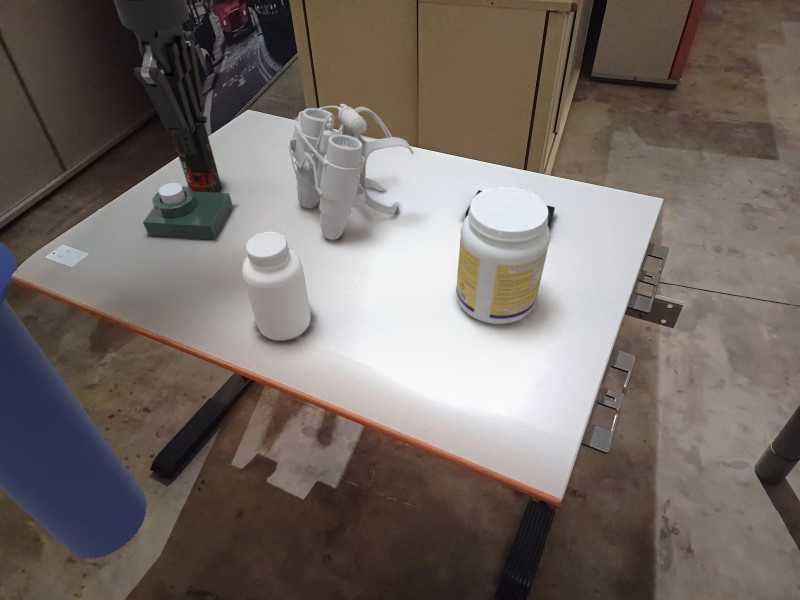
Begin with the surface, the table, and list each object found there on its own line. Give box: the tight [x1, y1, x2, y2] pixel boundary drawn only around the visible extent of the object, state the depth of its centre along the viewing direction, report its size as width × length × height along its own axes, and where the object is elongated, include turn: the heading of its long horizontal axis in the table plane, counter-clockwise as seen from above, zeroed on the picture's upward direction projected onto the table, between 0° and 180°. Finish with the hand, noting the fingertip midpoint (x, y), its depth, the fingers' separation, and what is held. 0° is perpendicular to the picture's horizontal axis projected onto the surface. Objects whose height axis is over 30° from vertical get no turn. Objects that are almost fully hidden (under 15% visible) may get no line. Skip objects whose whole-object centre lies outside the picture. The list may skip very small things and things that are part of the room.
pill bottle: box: [241, 231, 312, 342], centre depth 76 cm, size 8×8×15 cm
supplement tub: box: [455, 186, 551, 325], centre depth 79 cm, size 12×12×17 cm
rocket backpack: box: [289, 103, 415, 240], centre depth 96 cm, size 18×19×20 cm
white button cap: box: [158, 182, 186, 205], centre depth 96 cm, size 4×4×2 cm
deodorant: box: [171, 112, 223, 193], centre depth 101 cm, size 6×6×15 cm
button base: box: [142, 185, 234, 241], centre depth 98 cm, size 12×10×5 cm
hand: (202, 170), depth 78 cm, fingers closed
